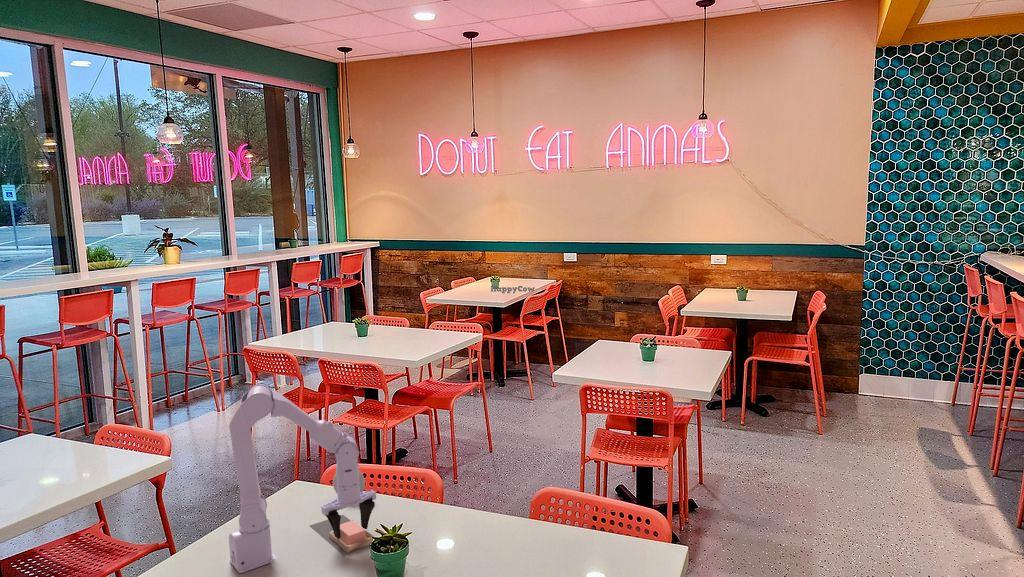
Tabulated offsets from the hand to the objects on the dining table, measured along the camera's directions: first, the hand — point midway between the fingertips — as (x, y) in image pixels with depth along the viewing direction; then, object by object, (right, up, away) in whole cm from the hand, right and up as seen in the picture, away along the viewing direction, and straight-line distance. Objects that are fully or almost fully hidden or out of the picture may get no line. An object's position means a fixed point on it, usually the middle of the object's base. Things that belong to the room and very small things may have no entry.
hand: (351, 532), depth 177 cm
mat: (-3, -2, +4) cm, 6 cm away
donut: (-7, 0, +28) cm, 29 cm away
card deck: (0, -2, 0) cm, 2 cm away
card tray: (0, -2, 0) cm, 2 cm away
